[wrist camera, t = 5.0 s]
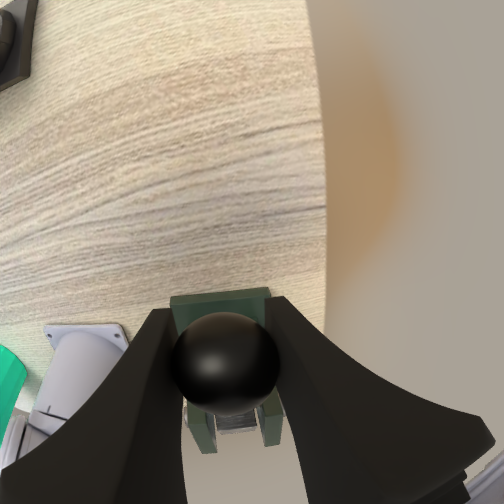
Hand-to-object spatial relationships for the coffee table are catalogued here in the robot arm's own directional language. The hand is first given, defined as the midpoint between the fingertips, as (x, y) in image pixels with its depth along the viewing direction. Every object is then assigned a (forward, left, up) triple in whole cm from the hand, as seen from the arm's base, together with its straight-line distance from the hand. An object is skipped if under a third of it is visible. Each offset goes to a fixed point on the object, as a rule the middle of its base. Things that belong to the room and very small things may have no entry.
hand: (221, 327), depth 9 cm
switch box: (+15, +16, -10) cm, 24 cm away
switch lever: (-4, 0, -2) cm, 4 cm away
